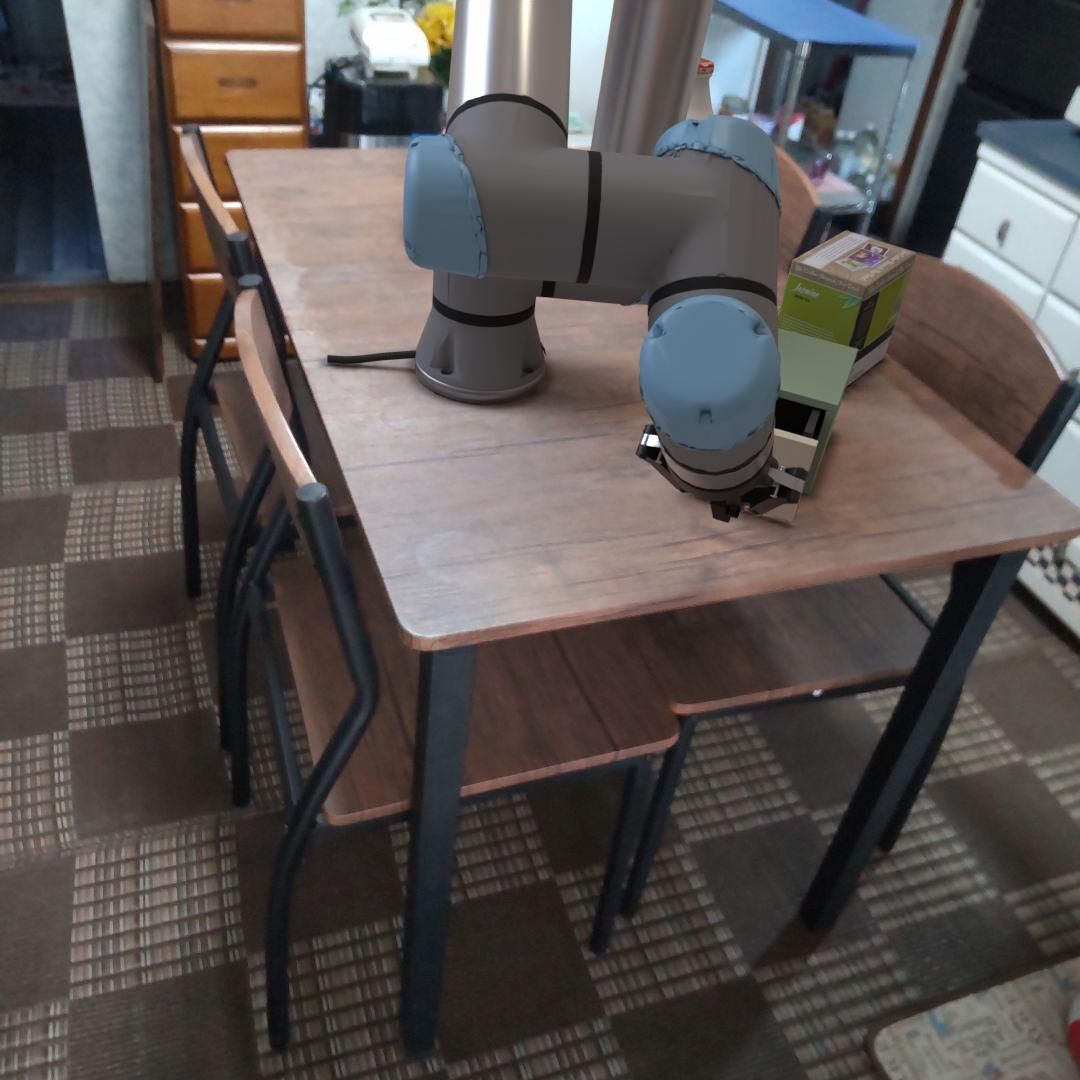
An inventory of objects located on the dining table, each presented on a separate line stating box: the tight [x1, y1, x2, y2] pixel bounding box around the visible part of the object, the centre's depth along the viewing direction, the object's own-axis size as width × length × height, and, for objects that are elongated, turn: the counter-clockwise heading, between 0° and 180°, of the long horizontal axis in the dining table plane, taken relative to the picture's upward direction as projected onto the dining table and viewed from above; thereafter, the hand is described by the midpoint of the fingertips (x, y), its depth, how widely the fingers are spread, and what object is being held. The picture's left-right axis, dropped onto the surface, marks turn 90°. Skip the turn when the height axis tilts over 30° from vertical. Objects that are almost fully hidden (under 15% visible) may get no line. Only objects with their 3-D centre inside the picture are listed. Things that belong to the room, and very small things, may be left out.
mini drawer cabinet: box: [778, 328, 858, 495], centre depth 107 cm, size 14×13×11 cm
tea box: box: [778, 229, 918, 387], centre depth 123 cm, size 15×10×15 cm
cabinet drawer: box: [744, 397, 823, 523], centre depth 100 cm, size 17×12×9 cm
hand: (725, 506), depth 90 cm, fingers closed
